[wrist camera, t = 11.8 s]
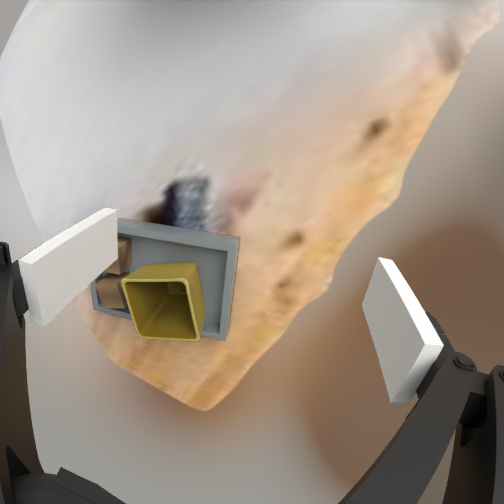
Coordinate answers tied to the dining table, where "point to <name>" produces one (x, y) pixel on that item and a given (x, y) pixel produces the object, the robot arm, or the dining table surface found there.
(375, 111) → the dining table surface
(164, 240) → the tray
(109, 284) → the walnut block
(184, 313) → the flower pot
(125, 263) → the walnut block
